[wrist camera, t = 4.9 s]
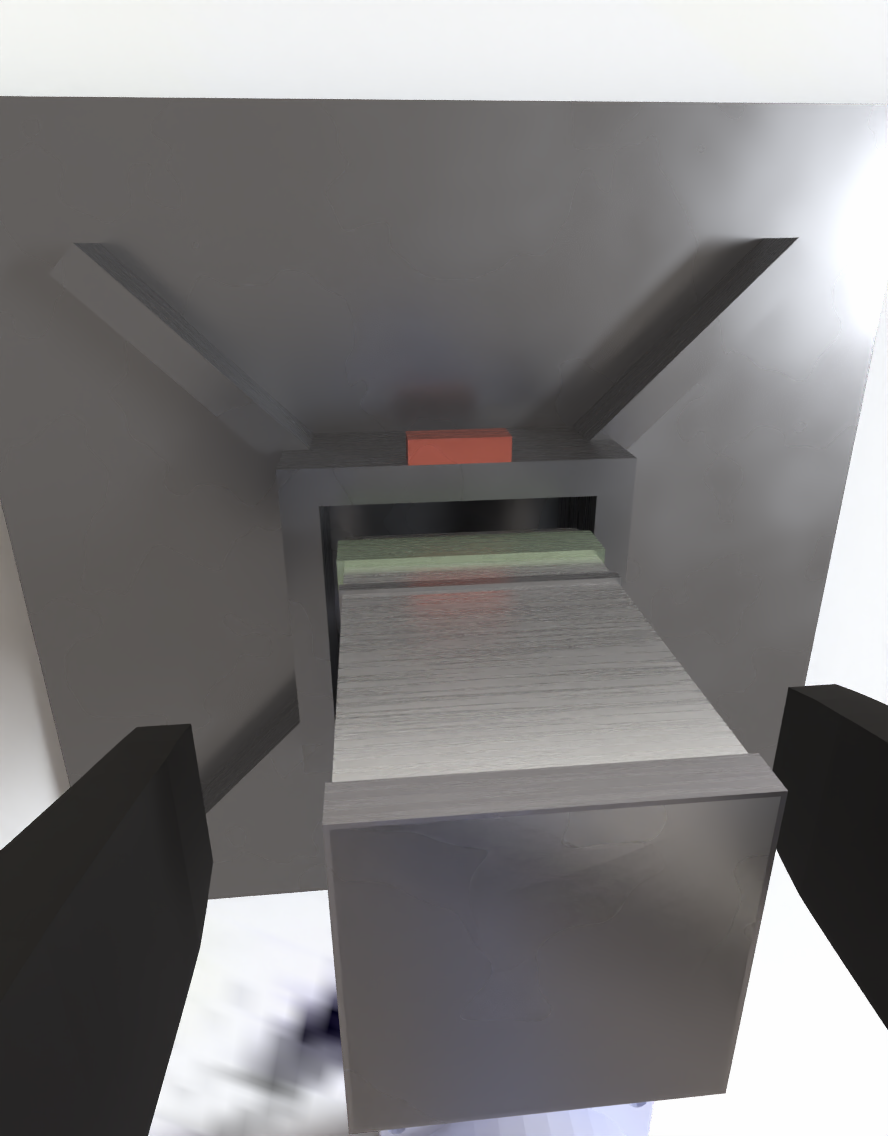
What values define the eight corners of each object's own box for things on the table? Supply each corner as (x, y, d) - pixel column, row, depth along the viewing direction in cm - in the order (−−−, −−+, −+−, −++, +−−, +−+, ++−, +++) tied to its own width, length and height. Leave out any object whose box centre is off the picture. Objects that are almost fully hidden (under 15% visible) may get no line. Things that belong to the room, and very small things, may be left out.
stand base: (758, 836, 19) (823, 934, 17) (107, 888, 18) (61, 1003, 15) (899, 110, 13) (1041, 74, 10) (-76, 102, 12) (-210, 58, 9)
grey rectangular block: (568, 725, 13) (729, 1095, 8) (352, 739, 13) (344, 1139, 7) (583, 521, 12) (795, 785, 6) (339, 531, 12) (315, 820, 6)
